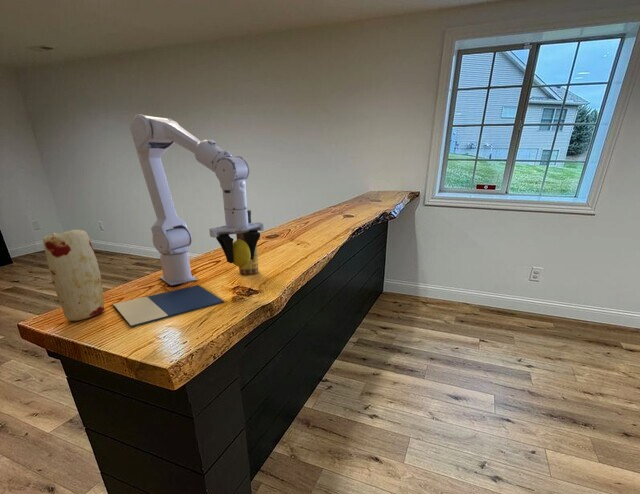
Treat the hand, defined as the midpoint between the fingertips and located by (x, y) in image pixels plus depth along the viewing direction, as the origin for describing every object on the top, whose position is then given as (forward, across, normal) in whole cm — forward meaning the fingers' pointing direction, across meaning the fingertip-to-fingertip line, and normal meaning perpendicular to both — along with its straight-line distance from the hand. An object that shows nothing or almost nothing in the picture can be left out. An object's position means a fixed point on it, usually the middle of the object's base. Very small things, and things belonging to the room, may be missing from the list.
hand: (240, 260), depth 93 cm
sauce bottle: (+9, +10, +14) cm, 20 cm away
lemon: (+2, 0, 0) cm, 2 cm away
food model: (+9, -36, +10) cm, 38 cm away
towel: (+9, -19, +5) cm, 21 cm away
